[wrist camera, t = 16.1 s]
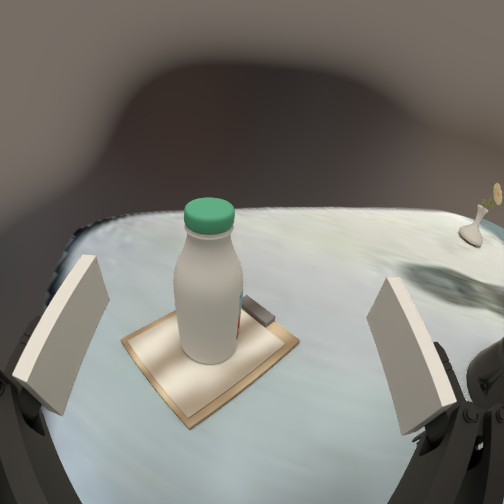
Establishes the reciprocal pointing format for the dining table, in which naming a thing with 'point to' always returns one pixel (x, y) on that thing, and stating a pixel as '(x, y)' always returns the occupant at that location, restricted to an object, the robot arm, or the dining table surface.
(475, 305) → the dining table surface
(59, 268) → the dining table surface
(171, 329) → the clipboard
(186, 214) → the milk bottle
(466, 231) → the flower in vase
